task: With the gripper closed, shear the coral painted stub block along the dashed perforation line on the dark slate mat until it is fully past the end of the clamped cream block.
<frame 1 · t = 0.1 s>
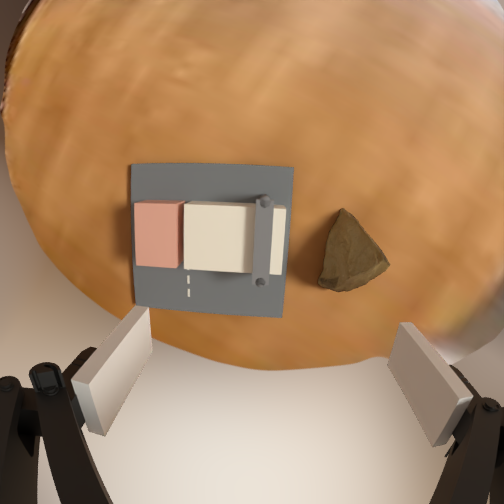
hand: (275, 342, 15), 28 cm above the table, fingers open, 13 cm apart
rock: (336, 251, 42), on the table
clamped cream block: (236, 232, 41), resting on mat
mat: (207, 240, 42), on the table
stub: (165, 229, 41), point 1 cm above the table, touching mat
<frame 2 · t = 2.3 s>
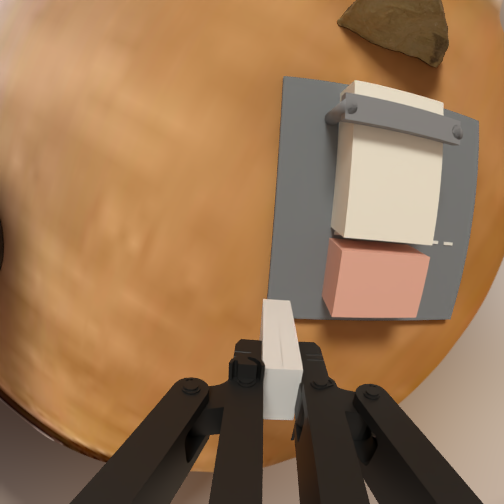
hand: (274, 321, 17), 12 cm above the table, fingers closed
rock: (393, 38, 23), on the table
clamped cream block: (378, 164, 25), resting on mat
mat: (385, 209, 27), on the table
stub: (366, 269, 28), point 1 cm above the table, touching mat
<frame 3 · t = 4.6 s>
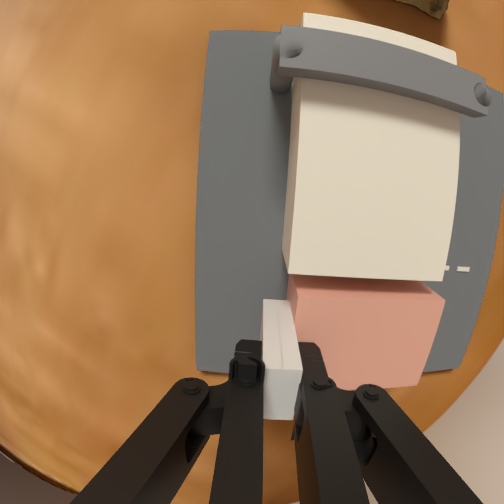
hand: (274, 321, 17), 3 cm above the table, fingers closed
clamped cream block: (358, 151, 16), resting on mat
mat: (370, 219, 18), on the table
stub: (347, 311, 19), point 1 cm above the table, touching gripper, mat
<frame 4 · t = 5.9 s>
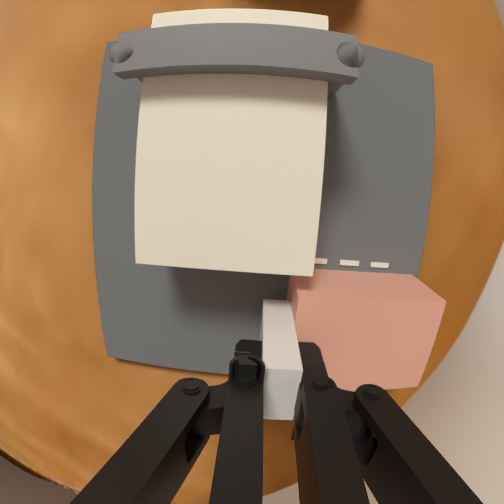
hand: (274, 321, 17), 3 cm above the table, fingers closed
clamped cream block: (237, 140, 16), resting on mat
mat: (259, 211, 18), on the table
stub: (348, 312, 19), point 1 cm above the table, touching mat
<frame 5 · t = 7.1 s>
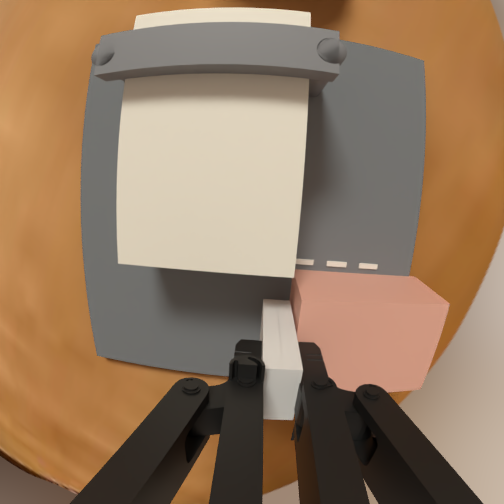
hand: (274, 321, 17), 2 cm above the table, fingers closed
clamped cream block: (222, 140, 16), resting on mat
mat: (245, 211, 18), on the table
stub: (350, 314, 18), point 1 cm above the table, touching mat
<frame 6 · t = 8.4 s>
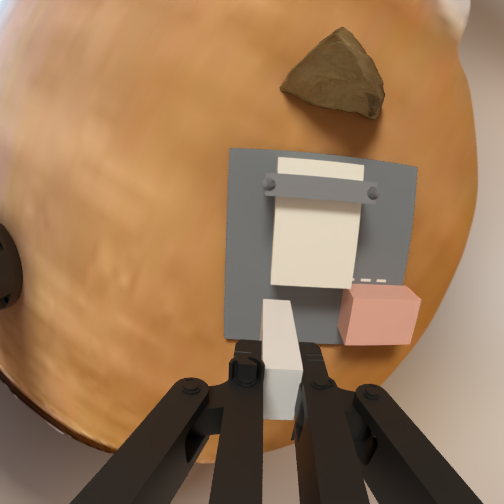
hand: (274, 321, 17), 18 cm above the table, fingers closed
rock: (334, 95, 30), on the table
clamped cream block: (311, 218, 32), resting on mat
mat: (320, 253, 34), on the table
stub: (372, 306, 34), point 1 cm above the table, touching mat
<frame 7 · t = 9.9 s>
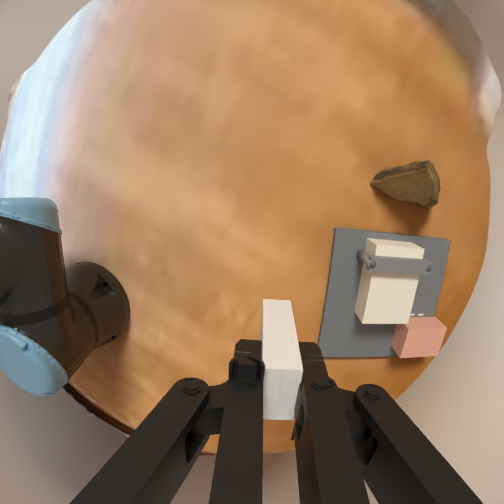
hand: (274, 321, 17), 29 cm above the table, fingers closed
rock: (403, 189, 44), on the table
clamped cream block: (383, 277, 46), resting on mat
mat: (385, 298, 48), on the table
stub: (413, 330, 48), point 1 cm above the table, touching mat
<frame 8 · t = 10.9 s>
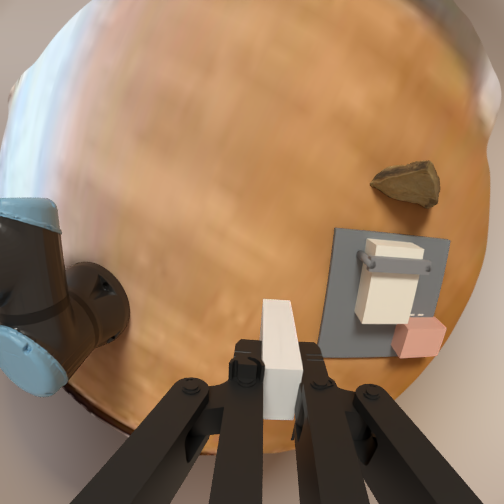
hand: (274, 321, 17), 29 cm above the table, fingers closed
rock: (403, 190, 44), on the table
clamped cream block: (383, 277, 46), resting on mat
mat: (384, 298, 48), on the table
stub: (413, 331, 48), point 1 cm above the table, touching mat
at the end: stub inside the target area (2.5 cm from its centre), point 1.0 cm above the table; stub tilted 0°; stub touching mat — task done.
